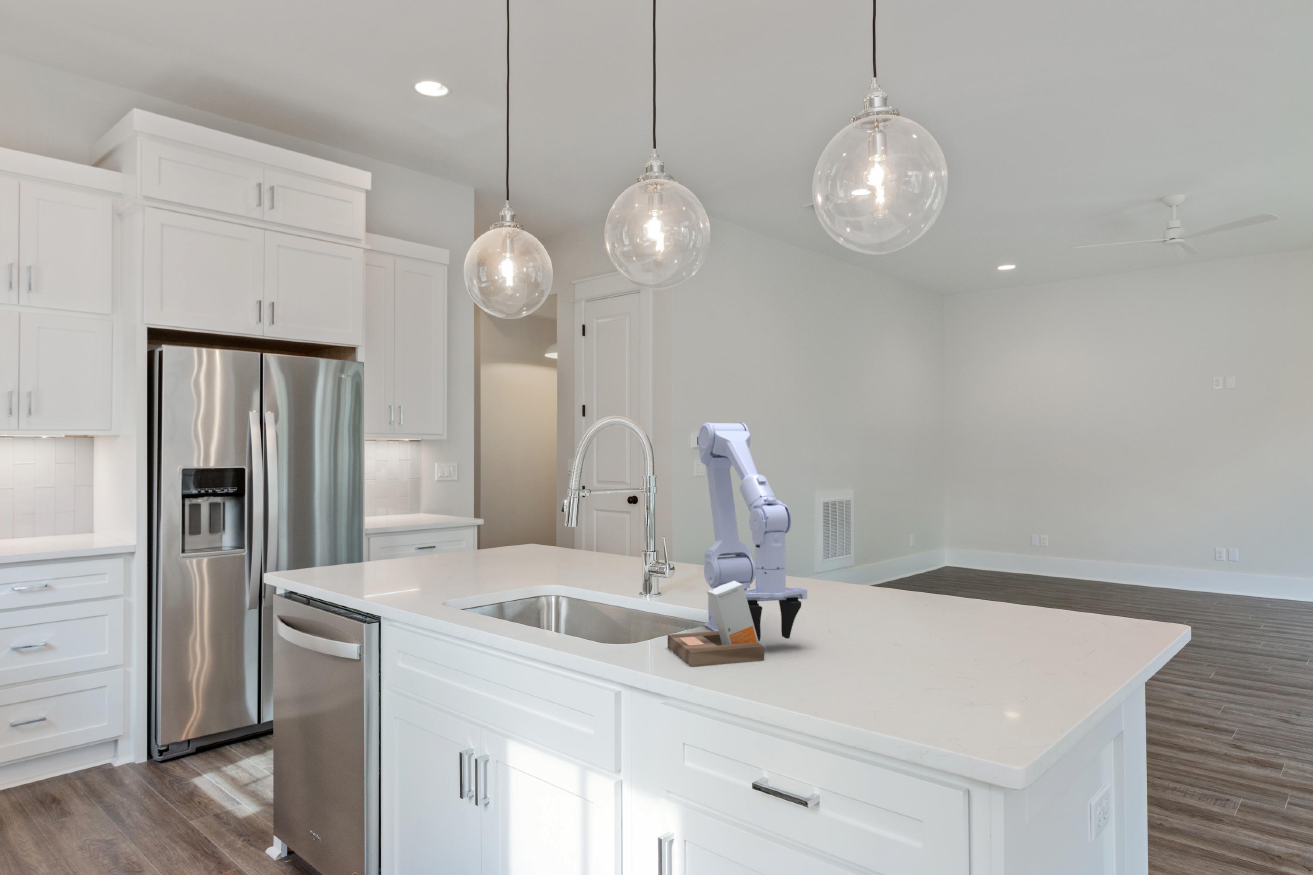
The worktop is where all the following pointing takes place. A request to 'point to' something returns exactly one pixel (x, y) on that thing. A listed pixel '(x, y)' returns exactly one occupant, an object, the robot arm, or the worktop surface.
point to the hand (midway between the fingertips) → (771, 638)
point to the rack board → (712, 649)
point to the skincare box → (732, 614)
